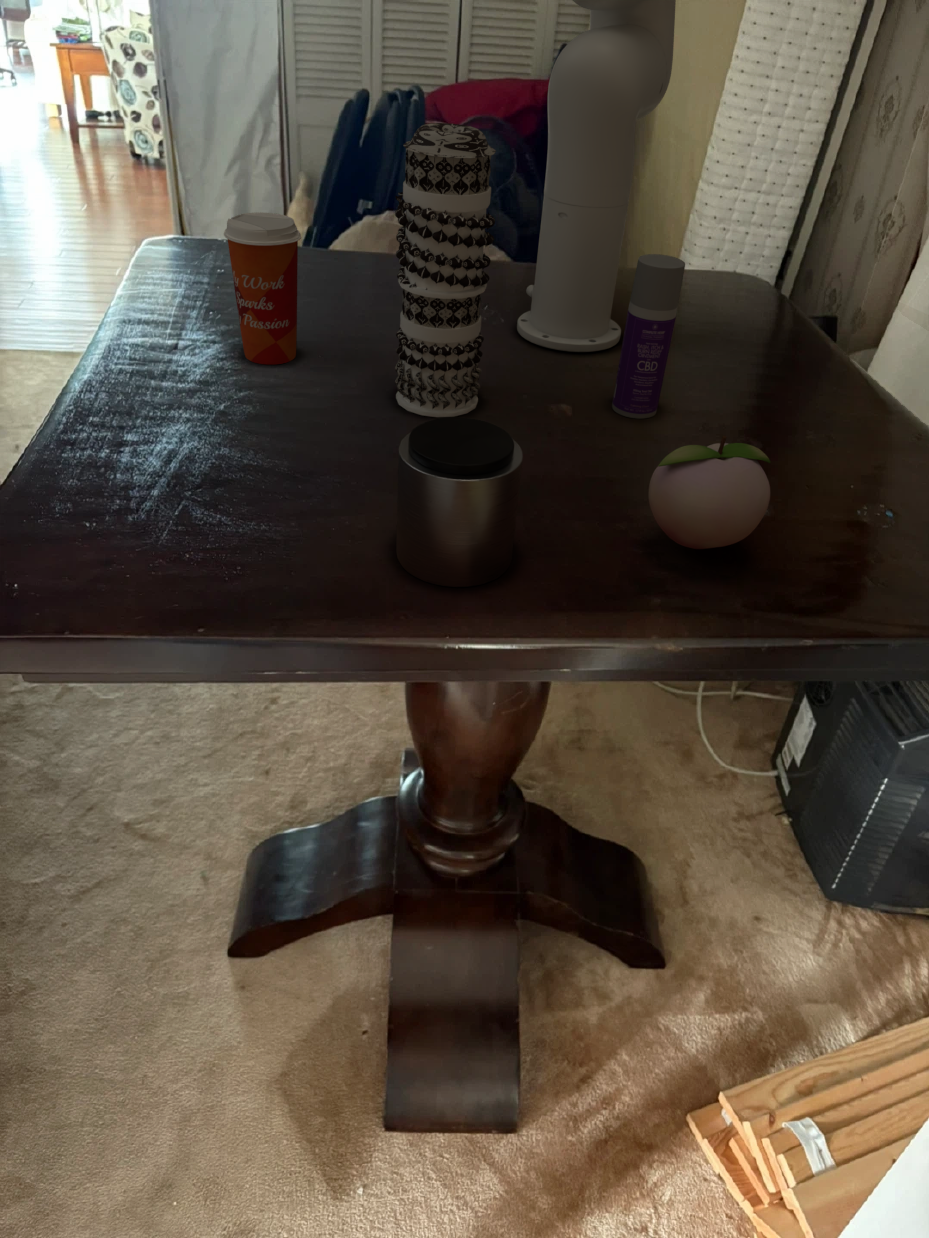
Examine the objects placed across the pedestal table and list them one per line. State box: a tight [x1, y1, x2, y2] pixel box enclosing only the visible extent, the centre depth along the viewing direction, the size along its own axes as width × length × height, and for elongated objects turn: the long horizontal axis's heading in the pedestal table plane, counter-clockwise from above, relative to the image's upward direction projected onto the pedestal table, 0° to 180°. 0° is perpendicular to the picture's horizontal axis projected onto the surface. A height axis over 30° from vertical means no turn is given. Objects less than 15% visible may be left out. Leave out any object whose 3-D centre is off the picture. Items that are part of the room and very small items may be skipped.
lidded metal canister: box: [395, 416, 524, 588], centre depth 69 cm, size 9×9×10 cm
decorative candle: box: [394, 122, 497, 418], centre depth 87 cm, size 9×9×25 cm
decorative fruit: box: [648, 434, 771, 550], centre depth 71 cm, size 9×8×10 cm
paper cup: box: [223, 211, 302, 366], centre depth 97 cm, size 8×8×14 cm
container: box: [611, 253, 686, 419], centre depth 91 cm, size 5×5×15 cm
